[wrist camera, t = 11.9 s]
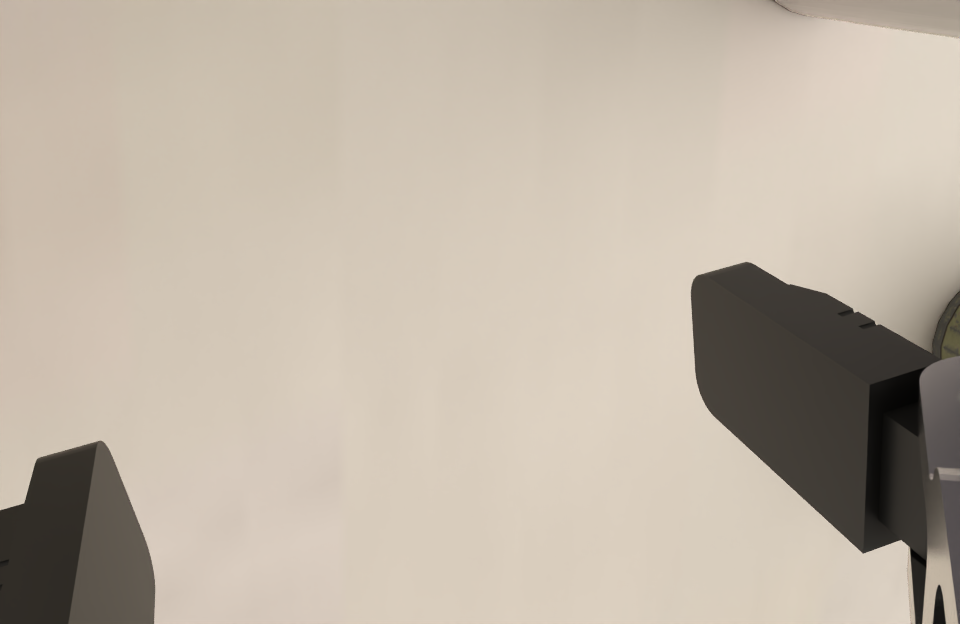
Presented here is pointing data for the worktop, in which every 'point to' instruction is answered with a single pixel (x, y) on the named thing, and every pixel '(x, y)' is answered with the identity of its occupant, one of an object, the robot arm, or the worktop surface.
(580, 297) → the worktop surface
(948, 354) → the olive green figurine
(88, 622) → the robot arm
